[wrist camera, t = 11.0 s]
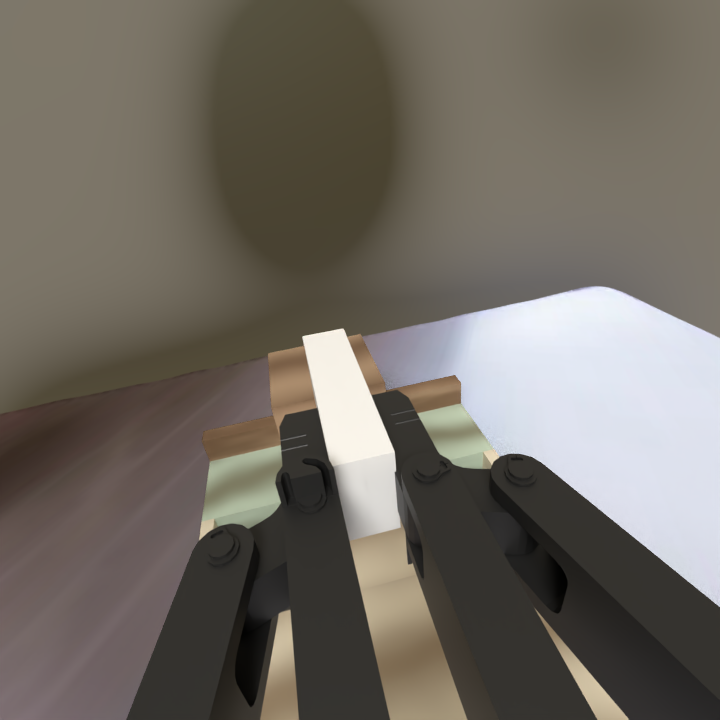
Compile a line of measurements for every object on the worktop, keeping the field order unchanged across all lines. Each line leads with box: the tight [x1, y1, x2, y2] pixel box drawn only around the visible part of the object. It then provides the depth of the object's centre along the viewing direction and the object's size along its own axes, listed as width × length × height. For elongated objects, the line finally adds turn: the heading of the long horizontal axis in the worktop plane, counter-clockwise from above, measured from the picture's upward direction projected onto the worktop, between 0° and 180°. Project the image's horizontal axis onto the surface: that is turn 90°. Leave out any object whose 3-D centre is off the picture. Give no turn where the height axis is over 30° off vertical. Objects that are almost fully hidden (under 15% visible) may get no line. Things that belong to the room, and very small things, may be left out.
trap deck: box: [199, 375, 629, 720], centre depth 31 cm, size 28×25×6 cm
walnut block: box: [268, 334, 386, 436], centre depth 35 cm, size 8×8×10 cm
